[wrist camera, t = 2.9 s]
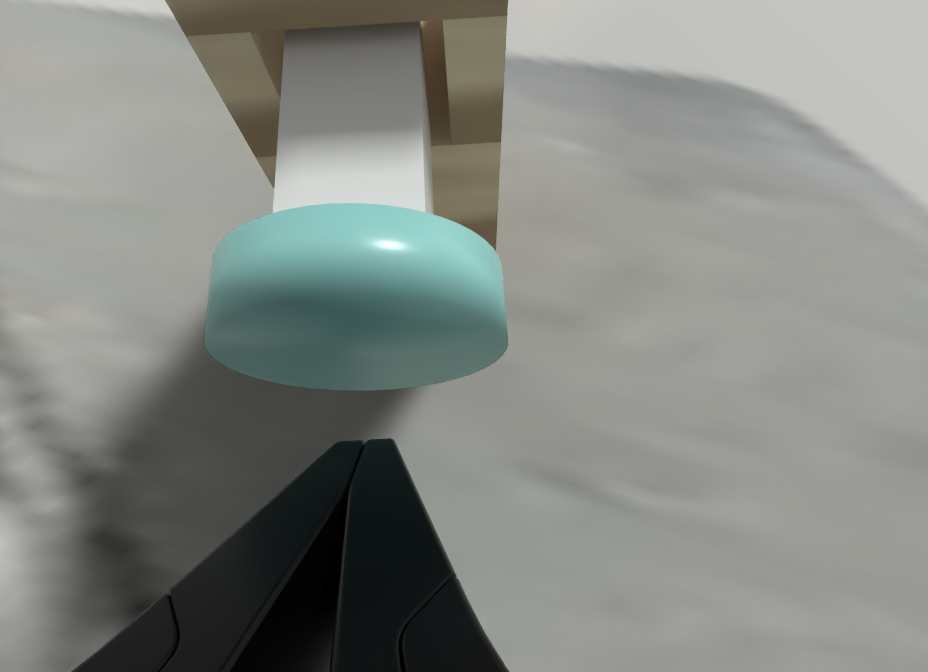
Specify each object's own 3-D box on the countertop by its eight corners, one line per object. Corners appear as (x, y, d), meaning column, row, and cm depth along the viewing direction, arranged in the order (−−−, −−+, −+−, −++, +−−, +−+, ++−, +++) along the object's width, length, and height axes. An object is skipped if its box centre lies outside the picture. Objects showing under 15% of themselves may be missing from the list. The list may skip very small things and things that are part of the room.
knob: (503, 382, 11) (516, 281, 7) (267, 396, 11) (137, 304, 7) (483, 126, 13) (483, -74, 9) (283, 138, 13) (190, -55, 9)
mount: (494, 272, 18) (514, -124, 7) (327, 282, 18) (109, -97, 7) (485, 161, 19) (491, -308, 9) (331, 170, 19) (151, -284, 9)
